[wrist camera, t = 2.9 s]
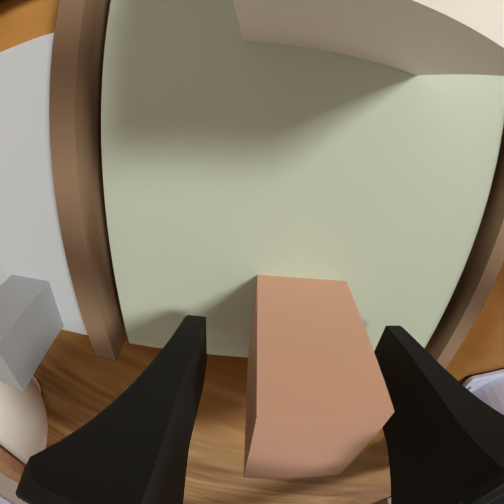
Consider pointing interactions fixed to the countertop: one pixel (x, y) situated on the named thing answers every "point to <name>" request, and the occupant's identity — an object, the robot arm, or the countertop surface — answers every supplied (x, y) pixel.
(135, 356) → the countertop surface
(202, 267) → the green flat panel
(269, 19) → the cream cube
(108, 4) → the lane rails
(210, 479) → the countertop surface
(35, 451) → the lidded jar
